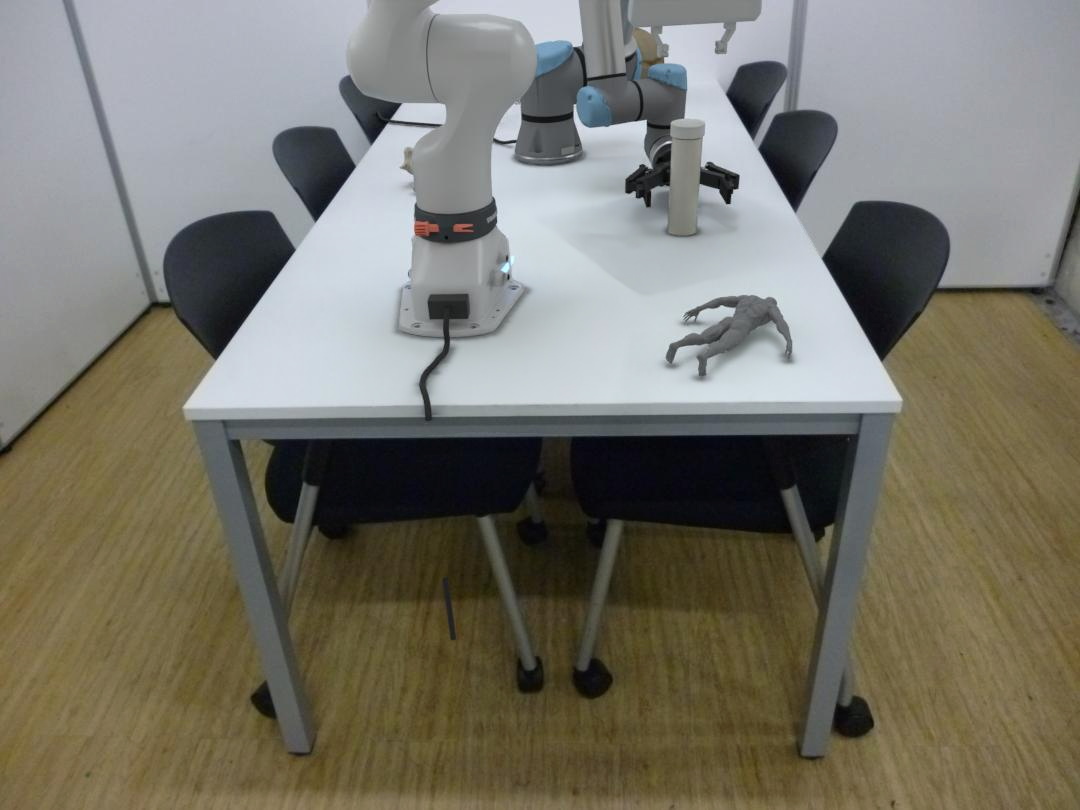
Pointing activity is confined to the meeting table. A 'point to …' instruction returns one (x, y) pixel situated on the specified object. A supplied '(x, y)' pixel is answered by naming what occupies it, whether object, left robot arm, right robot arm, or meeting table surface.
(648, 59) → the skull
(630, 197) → the meeting table surface
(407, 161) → the bone
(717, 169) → the right robot arm
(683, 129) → the lid
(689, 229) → the jar
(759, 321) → the figurine
